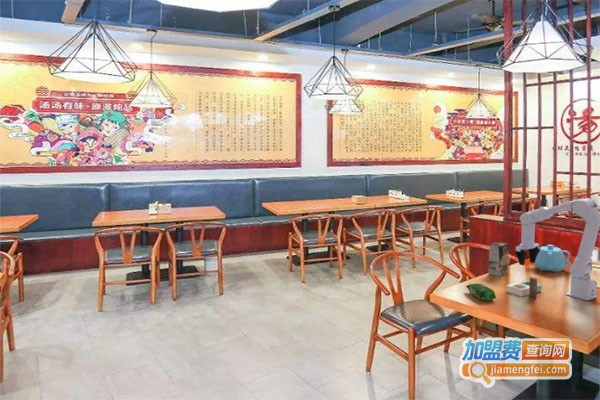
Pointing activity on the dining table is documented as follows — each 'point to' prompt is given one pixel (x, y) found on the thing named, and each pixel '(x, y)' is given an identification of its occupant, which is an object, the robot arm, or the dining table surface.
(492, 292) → the snack package
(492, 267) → the coffee box
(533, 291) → the walnut dowel
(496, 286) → the dining table surface
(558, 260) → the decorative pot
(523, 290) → the hole block
